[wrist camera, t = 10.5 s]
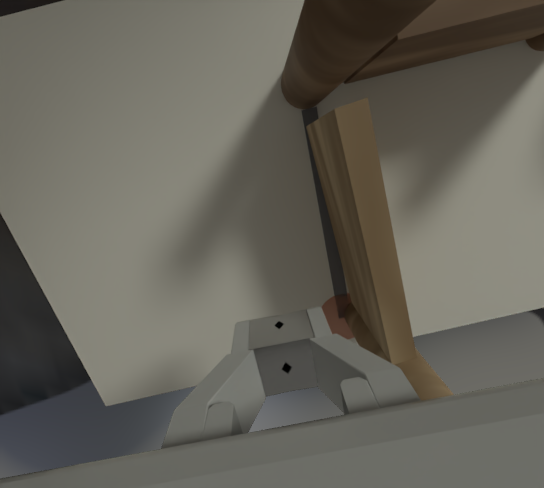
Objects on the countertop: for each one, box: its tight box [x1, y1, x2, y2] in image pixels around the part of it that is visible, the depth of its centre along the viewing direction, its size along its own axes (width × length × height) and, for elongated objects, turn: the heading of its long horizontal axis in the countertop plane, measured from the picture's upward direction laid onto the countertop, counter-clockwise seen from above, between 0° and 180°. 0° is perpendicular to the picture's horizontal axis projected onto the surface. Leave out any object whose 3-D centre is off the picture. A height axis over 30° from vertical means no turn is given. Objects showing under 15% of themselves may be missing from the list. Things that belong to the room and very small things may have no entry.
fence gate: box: [306, 98, 454, 401], centre depth 15 cm, size 3×16×12 cm, turn 18°
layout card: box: [0, 0, 544, 406], centre depth 20 cm, size 28×41×1 cm
